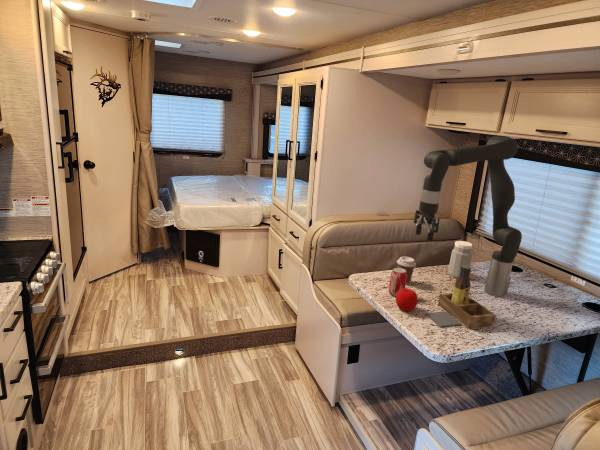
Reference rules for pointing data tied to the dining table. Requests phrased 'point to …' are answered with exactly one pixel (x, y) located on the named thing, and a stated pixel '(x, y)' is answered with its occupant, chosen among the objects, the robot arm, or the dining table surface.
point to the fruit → (406, 299)
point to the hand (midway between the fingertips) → (423, 237)
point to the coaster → (443, 319)
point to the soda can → (397, 280)
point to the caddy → (467, 312)
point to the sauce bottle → (462, 286)
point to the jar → (460, 257)
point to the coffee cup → (407, 266)
